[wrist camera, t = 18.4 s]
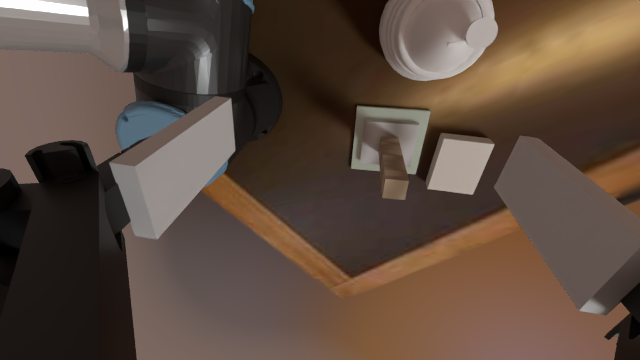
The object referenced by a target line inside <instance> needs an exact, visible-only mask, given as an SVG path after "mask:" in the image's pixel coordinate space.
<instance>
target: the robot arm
mask: <svg viewBox="0 0 640 360" xmlns="http://www.w3.org/2000/svg"><path fill="white" fill-rule="evenodd" d="M253 13H254V6H253V0H0V49H7V50H29V51H30V50H31V51H52V52H75V53H76V52H77V53H89V54H91V55H93V56H95V57H97V58H98V59H99V60H101V61H102V62H104V63H105V64H106V65H107V66H109V67H110V68H111V69H113V70H114V71H116V72H133V74H134V82H135V92H136V102H133V103H131V104H129V105H127V106H126V107H125V109H124V111H123V112H122V113H121V114H120V115H119V116H118V118H117V121H116V136H117V140H118V143H119V145H120V147H121V149H122V151H121V153H118V154H116V155H114V156H113V157H111V158H109V159H108V160H106V161H104V162H103V163H101V164H99V165H98V166H96V164H95V161H94V158H93V156H92V153H91V150H90V148H89V146H88V144H87V143H85V142H82V141H74V140H70V141H58V142H53V143H48V144H45V145H42V146H38V147H36V148H34V149H32V150H30V151H29V152H28V153H27V154H26V155H25V157H26V159H27V161H28V163H29V165H30V166H31V168H32V170H33V172H34V174H35V176H36V178H37V180H38V181H39V183H31V184H18V182H17V181H16V179H15V177H14V176H13V174H12V173H11V171H10V170H6V169H0V360H137V359H136V348H135V338H134V328H133V318H132V309H131V298H130V288H129V278H128V269H127V258H126V248H125V238H124V236H123V233H122V229H123V228H124V227H125V226H126V225H127V224H128V223H129V222H130V223H131V226H132V228H133V231H134V234H135V236H140V237H146V238H152V239H158V238H159V237H160V236H161V235H162V233H163V232H164V231H165V230H166V229H167V228H168V227H169V225H170V224H171V223H172V222H173V221H174V220H175V218H176V217H177V216H178V215H179V214H180V213H181V212H182V211H183V209H184V208H185V207H186V206H187V205H188V204H189V203H190V202H191V200H192V199H193V198H194V197H195V196H196V195H197V194H198V193H199V191H200V190H201V189H202V188H203V187H205V186H207V185H209V184H211V183H212V182H213V181H214V180H215V179H217V178H218V177H219V176H221V175H222V174H223V173H224V172H225V170H226V169H227V166H228V165H229V164H230V163H231V162H232V160H233V159H234V158H235V157H236V156H237V154H238V153H239V152H240V151H241V150H242V148H243V147H244V146H245V145H246V144H247V143H248V142H252V141H255V140H258V139H260V138H262V137H264V136H265V135H267V134H268V133H269V132H270V131H271V130H272V128H273V127H274V126H275V124H276V123H277V121H278V119H279V117H280V114H281V111H282V94H281V90H280V87H279V84H278V82H277V80H276V78H275V76H274V75H273V73H272V72H271V71H270V70H269V68H268V67H267V66H266V65H265V64H263V63H262V62H261V61H260V60H258V59H257V58H255V57H253V56H251V55H249V54H248V50H249V39H250V28H251V16H252V14H253ZM494 188H495V190H496V191H497V193H498V194H499V196H500V197H501V198H502V200H503V201H504V203H505V204H506V206H507V207H508V209H509V210H510V212H511V213H512V214H513V216H514V217H515V219H516V220H517V222H518V223H519V225H520V226H521V227H522V229H523V230H524V232H525V233H526V235H527V236H528V238H529V239H530V241H531V242H532V243H533V245H534V246H535V248H536V249H537V251H538V252H539V253H540V255H541V256H542V258H543V259H544V261H545V262H546V264H547V265H548V267H549V268H550V269H551V271H552V272H553V274H554V275H555V277H556V278H557V280H558V281H559V282H560V284H561V285H562V287H563V288H564V290H565V291H566V293H567V294H568V296H569V297H570V298H571V300H572V301H573V303H574V304H575V306H576V307H577V308H578V310H579V311H584V312H590V313H596V314H602V315H607V314H608V313H609V312H610V311H611V310H613V309H614V308H615V306H617V305H618V304H619V303H620V302H622V304H623V305H624V306H625V307H626V308H627V310H628V311H629V312H630V314H629V315H627V316H626V317H625V318H624V319H623V320H622V321H621V322H620V323H619V324H617V325H616V326H615V327H614V328H613V329H612V330H610V331H609V332H608V333H607V334H606V336H605V338H607V339H608V340H609V339H611V338H612V337H618V341H617V344H616V345H617V347H616V352H615V358H614V360H640V218H639V217H637V216H636V215H635V214H634V213H632V212H631V211H630V210H629V209H627V208H626V207H625V206H624V205H622V204H621V203H620V202H618V201H617V200H616V199H615V198H613V197H612V196H611V195H610V194H608V193H607V192H606V191H605V190H603V189H602V188H601V187H599V186H598V185H597V184H596V183H594V182H593V181H592V180H591V179H589V178H588V177H587V176H586V175H584V174H583V173H582V172H580V171H579V170H578V169H577V168H575V167H574V166H573V165H572V164H570V163H569V162H568V161H567V160H565V159H564V158H563V157H561V156H560V155H559V154H558V153H556V152H555V151H554V150H553V149H551V148H550V147H549V146H548V145H546V144H545V143H544V142H542V141H541V140H540V139H539V138H533V137H526V136H520V137H519V139H518V141H517V143H516V145H515V147H514V149H513V151H512V153H511V155H510V157H509V159H508V161H507V163H506V165H505V167H504V169H503V171H502V173H501V175H500V177H499V179H498V181H497V183H496V185H495V187H494Z"/></svg>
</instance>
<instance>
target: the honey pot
mask: <svg viewBox="0 0 640 360" xmlns="http://www.w3.org/2000/svg"><path fill="white" fill-rule="evenodd" d="M494 15H495V14H494V9H493V4H492V1H491V0H388V2H387V4H386V5H385V8H384V10H383V13H382V16H381V19H380V26H379V37H380V44H381V47H382V50H383V53H384V55H385V58H386V60H387V61H388V63H389V64H390V65H391V67H392V68H393V69H394V70H395V71H397V72H398V73H399V74H401V75H402V76H404V77H407V78H410V79H412V80H421V81H429V80H434V79H443V78H448V77H452V76H454V75H456V74H459V73H461V72H463V71H464V70H465V69H467V68H468V67H469V66H471V65H472V64H473V63H474V62H475V61H476V60H477V59H478V58H479V57H480V56H481V54H482V53H483V51H484V50H485V48H486V47H487V46H489V45H490V44H491V43H492V42H493V41H494V39H495V38H496V35H497V32H498V26H497V23H496V22H495V20H494Z"/></svg>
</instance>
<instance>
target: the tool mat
mask: <svg viewBox="0 0 640 360" xmlns="http://www.w3.org/2000/svg"><path fill="white" fill-rule="evenodd" d="M430 112H431V111H430V110H419V109H404V108H389V107H374V106H360V105H357V112H356V123H355V133H354V143H353V154H352V164H351V169H362V170H373V171H380V166H379V165H377V164H365V163H360V157H361V148H362V139H363V130H364V121H365V119H368V120H382V121H396V122H410V123H419V125H420V126H419V130H418V135H417V139H416V144H415V148H414V153H413V157H412V162H411V166H410V167H406V171H407V174H416V171H417V167H418V163H419V159H420V154H421V150H422V146H423V142H424V138H425V133H426V129H427V125H428V121H429V117H430Z"/></svg>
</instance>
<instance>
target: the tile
mask: <svg viewBox="0 0 640 360" xmlns="http://www.w3.org/2000/svg"><path fill="white" fill-rule="evenodd" d="M494 145H495V144H494V143H493V142H492V141H491V140H490V139H489V138H483V137H474V136H465V135H457V134H448V133H441V134H440V137H439V140H438V143H437V146H436V149H435V153H434V156H433V159H432V162H431V165H430V168H429V172H428V175H427V178H426V181H425V182H426V185H427V188H428V189H433V190H441V191H449V192H457V193H464V194H472V195H473V193H474V191H475V188H476V186H477V184H478V181H479V179H480V177H481V175H482V172H483V170H484V168H485V165H486V163H487V161H488V159H489V156H490V154H491V152H492V149H493V147H494Z"/></svg>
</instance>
